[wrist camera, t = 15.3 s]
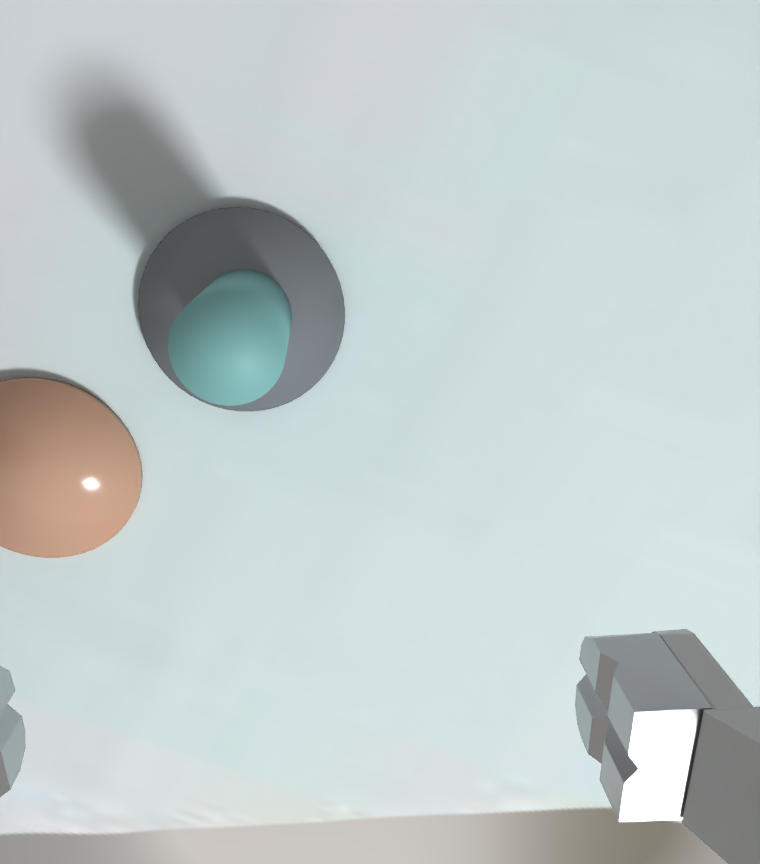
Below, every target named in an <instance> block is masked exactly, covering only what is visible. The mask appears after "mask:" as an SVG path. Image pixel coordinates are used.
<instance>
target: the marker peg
mask: <svg viewBox="0 0 760 864" xmlns="http://www.w3.org/2000/svg"><path fill="white" fill-rule="evenodd" d="M291 322H292V311H291V306H290V302H289V299H288V297H287V295H286V293H285V292H284V290H283V289H282V288H281V286H280V285H279V284H278V283H277V282H276V281H275V280H273V279H272V278H271V277H269V276H267V275H265V274H263V273H261V272H258V271H255V270H249V269H240V270H234V271H230V272H227V273H225V274H223V275H221V276H219V277H218V278H217V279H215V280H214V281H213V282H212V283H211V284H210V285H209V286H208V287H206V288H205V289H204V290H203V291H202V292H201V293H200V294H199V295H198V296H197V297H195V298H194V299H193V300H192V301H191V302H190V303H189V304H188V305H187V306H186V307H185V308H184V309H183V310H182V311H181V312H180V313H179V314H178V316H177V317H176V319H175V321H174V322H173V325H172V327H171V330H170V334H169V340H168V353H169V358H170V362H171V365H172V368H173V370H174V372H175V374H176V376H177V377H178V379H179V380H180V381H181V383H182V384H183V385H184V386H185V387H186V388H187V389H188V390H189V391H190V392H192V393H193V394H194V395H196V396H197V397H199V398H201V399H203V400H205V401H208V402H210V403H214V404H218V405H224V406H235V405H242V404H246V403H249V402H252V401H255V400H256V399H258V398H260V397H262V396H263V395H264V394H266V393H267V392H268V391H269V390H270V389H271V388H272V387H273V386H274V385H275V383H276V382H277V380H278V379H279V377H280V375H281V373H282V370H283V367H284V364H285V358H286V352H287V346H288V341H289V335H290V329H291Z"/></svg>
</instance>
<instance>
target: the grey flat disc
mask: <svg viewBox="0 0 760 864" xmlns="http://www.w3.org/2000/svg"><path fill="white" fill-rule="evenodd" d="M240 269H249V270H255V271H258V272H261V273H263V274H265V275H267V276H269V277H271V278H272V279H273V280H275V281H276V282H277V283H278V284H279V285H280V286H281V288H282V289H283V290H284V292H285V293H286V295H287V297H288V299H289V302H290V306H291V311H292V322H291V329H290V335H289V341H288V346H287V352H286V358H285V364H284V367H283V370H282V373H281V375H280V377H279V379H278V380H277V382H276V383H275V385H274V386H273V387H272V388H271V389H270V390H269V391H268V392H267V393H266V394H264V395H263V396H262V397H260V398H258V399H256V400H255V401H252V402H249V403H246V404H242V405H235V406H224V405H218V404H214V403H210V402H208V401H205V400H203V399H201V398H199V397H197V396H196V395H194V394H193V393H192V392H190V391H189V390H188V389H187V388H186V387H185V386H184V385H183V384H182V383H181V381H180V380H179V379H178V377H177V376H176V374H175V372H174V370H173V368H172V365H171V362H170V358H169V353H168V340H169V334H170V330H171V327H172V325H173V322H174V321H175V319H176V317H177V316H178V314H179V313H180V312H181V311H182V310H183V309H184V308H185V307H186V306H187V305H188V304H189V303H190V302H191V301H192V300H193V299H194V298H195V297H197V296H198V295H199V294H200V293H201V292H202V291H203V290H204V289H205V288H206V287H208V286H209V285H210V284H211V283H212V282H213V281H214V280H215V279H217V278H218V277H219V276H221V275H223V274H225V273H227V272H230V271H234V270H240ZM138 308H139V319H140V324H141V329H142V333H143V336H144V339H145V341H146V344H147V346H148V348H149V350H150V352H151V354H152V356H153V358H154V359H155V361H156V362H157V364H158V365H159V367H160V368H161V369H162V371H163V372H164V373H165V374H166V375H167V376H168V378H169V379H171V380H172V381H173V382H174V383H175V384H176V385H177V386H178V387H179V388H181V389H182V390H184V391H185V392H186V393H188V394H189V395H191V396H193V397H195V398H197V399H198V400H200V401H202V402H205V403H207V404H210V405H212V406H215V407H219V408H223V409H227V410H235V411H259V410H267V409H271V408H275V407H278V406H281V405H284V404H286V403H289V402H291V401H293V400H294V399H296V398H298V397H300V396H301V395H303V394H304V393H306V392H307V391H308V390H310V389H311V388H312V387H313V386H314V385H315V384H316V383H317V382H318V381H319V380H320V379H321V378H322V377H323V376H324V374H325V373H326V372H327V370H328V369H329V367H330V366H331V364H332V362H333V361H334V359H335V356H336V354H337V352H338V350H339V347H340V343H341V340H342V337H343V330H344V324H345V308H344V299H343V294H342V290H341V285H340V282H339V279H338V277H337V274H336V272H335V269H334V268H333V266H332V264H331V262H330V260H329V258H328V257H327V256H326V254H325V253H324V251H323V250H322V249H321V247H320V246H319V245H318V244H317V243H316V242H315V241H314V240H313V239H312V238H311V237H310V236H309V235H308V234H307V233H306V232H304V231H303V230H302V229H301V228H299V227H298V226H296V225H295V224H293V223H291V222H290V221H288V220H286V219H284V218H282V217H280V216H277V215H275V214H272V213H269V212H266V211H262V210H257V209H251V208H237V207H233V208H223V209H217V210H213V211H209V212H205V213H202V214H200V215H197V216H195V217H192V218H191V219H189V220H187V221H185V222H184V223H182V224H180V225H179V226H178V227H176V228H175V229H174V230H172V231H171V232H170V233H169V234H168V235H167V236H166V237H165V238H164V239H163V240H162V241H161V242H160V244H159V245H158V246H157V248H156V249H155V251H154V252H153V253H152V255H151V257H150V259H149V261H148V263H147V265H146V267H145V270H144V273H143V276H142V279H141V284H140V290H139V302H138Z"/></svg>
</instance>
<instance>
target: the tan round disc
mask: <svg viewBox="0 0 760 864" xmlns="http://www.w3.org/2000/svg"><path fill="white" fill-rule="evenodd" d="M141 488H142V465H141V460H140V456H139V452H138V449H137V447H136V444H135V442H134V440H133V438H132V436H131V434H130V432H129V431H128V429H127V428H126V426H125V425H124V424H123V422H122V421H121V420H120V419H119V417H118V416H117V415H116V414H115V413H114V412H113V411H112V410H111V409H110V408H109V407H107V406H106V405H105V404H104V403H103V402H101V401H100V400H98V399H97V398H95V397H94V396H93V395H91V394H89V393H87V392H85V391H83V390H81V389H80V388H77V387H75V386H72V385H69V384H67V383H63V382H60V381H56V380H51V379H44V378H16V379H10V380H5V381H1V382H0V546H2V547H4V548H6V549H8V550H11V551H14V552H18V553H21V554H25V555H30V556H35V557H45V558H59V557H67V556H73V555H78V554H82V553H85V552H87V551H90V550H93V549H95V548H97V547H99V546H101V545H102V544H104V543H106V542H107V541H108V540H110V539H111V538H113V537H114V536H115V535H116V534H117V533H118V532H119V531H120V530H121V529H122V528H123V527H124V525H125V524H126V523H127V521H128V520H129V518H130V517H131V515H132V513H133V511H134V509H135V508H136V505H137V502H138V500H139V497H140V492H141Z"/></svg>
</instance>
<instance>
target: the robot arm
mask: <svg viewBox="0 0 760 864" xmlns="http://www.w3.org/2000/svg"><path fill="white" fill-rule="evenodd" d="M579 660H580V662H581V664H582V666H583V668H584V670H585V672H586V675H585V676H584V677H583V679H582V680H581V681H580V682H579V683H578V684H577V687H576V700H575V707H576V716H577V724H578V728H579V731H580V735H581V738H582V741H583V743H584V746H585V748H586V750H587V753H588V754H589V755H591V756H592V757H593V758H595V759H596V760H597V761H599V762H600V763H601V764H602V765H601V773H600V782H601V784H602V786H603V788H604V791H605V793H606V795H607V797H608V799H609V801H610V804H611V806H612V808H613V810H614V812H615V815H616V817H617V819H618V821H619V822H630V821H657V820H682V823H683V824H684V825H685V826H686V827H687V828H688V829H690V830H691V831H692V832H693V833H694V834H695V835H696V836H697V837H698V838H700V839H701V840H702V841H703V842H704V843H705V844H707V845H708V846H709V847H710V848H711V849H712V850H713V851H714V852H716V853H717V854H718V855H719V856H720V857H721V858H722V859H724V860H725V861H726V862H727V863H728V864H760V707H753V705H752V704H751V703H750V702H749V701H748V699H747V698H746V697H745V696H744V694H743V693H742V692H741V691H740V689H739V688H738V687H737V686H736V685H735V683H734V682H733V681H732V680H731V678H730V677H729V676H728V675H727V673H726V672H725V671H724V670H723V669H722V667H721V666H720V665H719V664H718V662H717V661H716V660H715V659H714V657H713V656H712V655H711V654H710V653H709V651H708V650H707V649H706V648H705V646H704V645H703V644H702V643H701V641H700V640H699V639H698V638H697V637H696V635H695V634H694V633H693V632H691V631H689V630H687V629H681V630H668V631H655V632H652V633H641V634H624V635H606V636H588V637H585V638H584V640H583V642H582V645H581V651H580V659H579ZM14 692H15V687H14V684H13V680H12V677H11V674H10V671H9V670H7V669H5V668H3V667H1V666H0V797H1V796H2V795H4V794H5V793H6V792H8V791H9V790H10V789H11V787H12V785H13V783H14V781H15V779H16V777H17V775H18V773H19V772H20V768H21V764H22V760H23V756H24V752H25V728H24V723H23V719H22V716H21V715H20V714H19V713H18V712H16V711H15V710H14V709H13V708H12V707H11V706H9V705H8V704H7V703H8V702H9V700H10V698H11V697H12V695H13V693H14Z"/></svg>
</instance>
